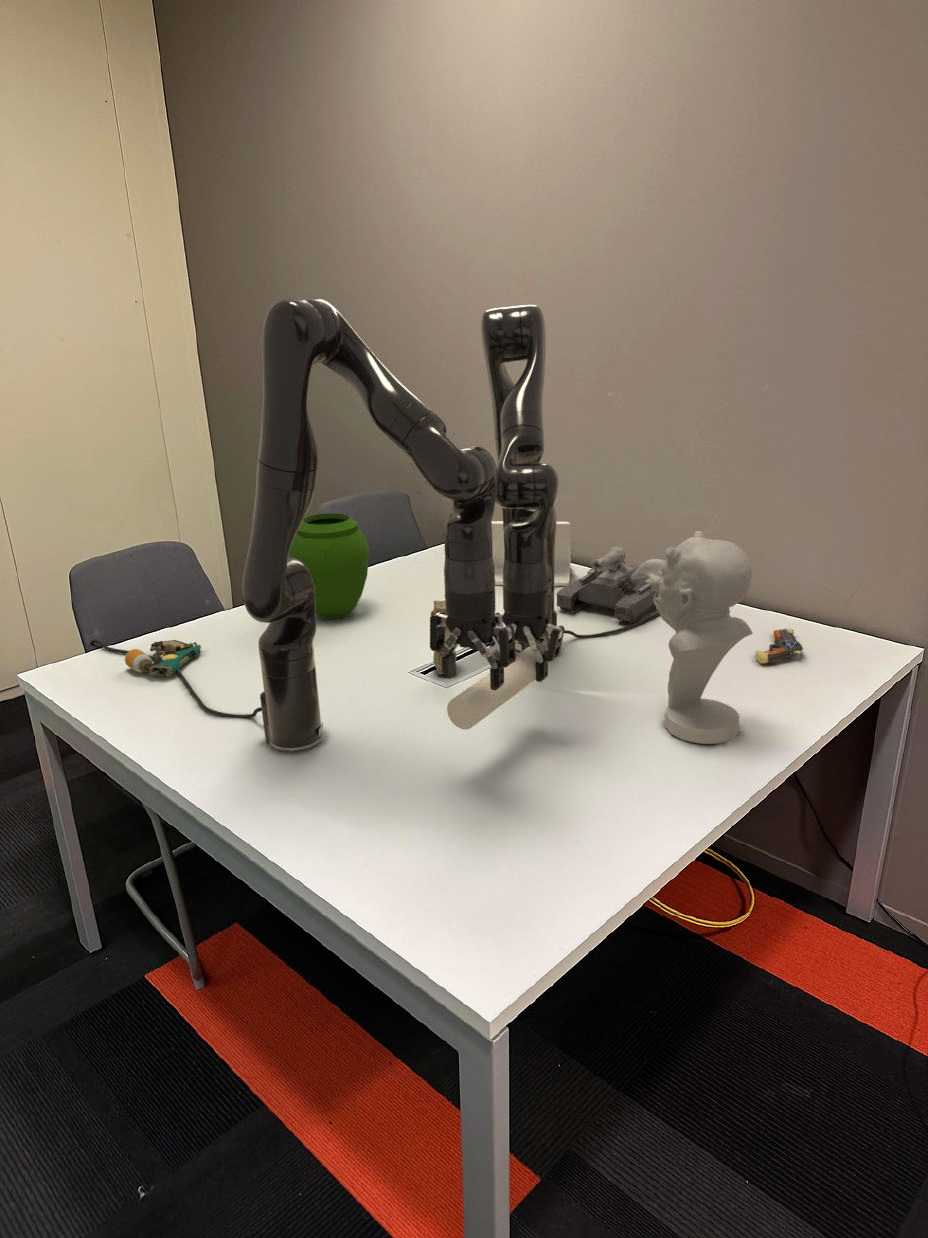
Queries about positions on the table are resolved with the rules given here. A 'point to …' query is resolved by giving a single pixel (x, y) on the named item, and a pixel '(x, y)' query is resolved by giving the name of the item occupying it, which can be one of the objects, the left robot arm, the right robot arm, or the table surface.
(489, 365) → the right robot arm
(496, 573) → the tablet stand
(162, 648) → the spray gun
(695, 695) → the bust sculpture
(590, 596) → the toy
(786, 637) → the toy gun
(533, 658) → the rod
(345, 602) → the vase
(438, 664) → the sculpture
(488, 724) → the table surface
